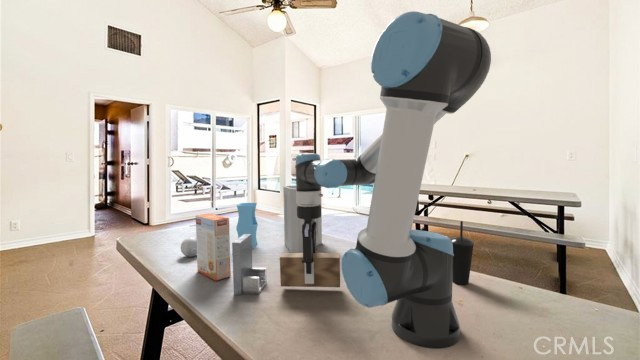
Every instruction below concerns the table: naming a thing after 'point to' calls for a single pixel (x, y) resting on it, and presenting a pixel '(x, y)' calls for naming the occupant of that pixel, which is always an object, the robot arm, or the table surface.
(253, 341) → the table surface
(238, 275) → the bracket
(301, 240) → the white triangular prism
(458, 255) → the drinking cup
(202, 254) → the cracker box
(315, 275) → the rail
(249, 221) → the vase
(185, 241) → the bath bomb
